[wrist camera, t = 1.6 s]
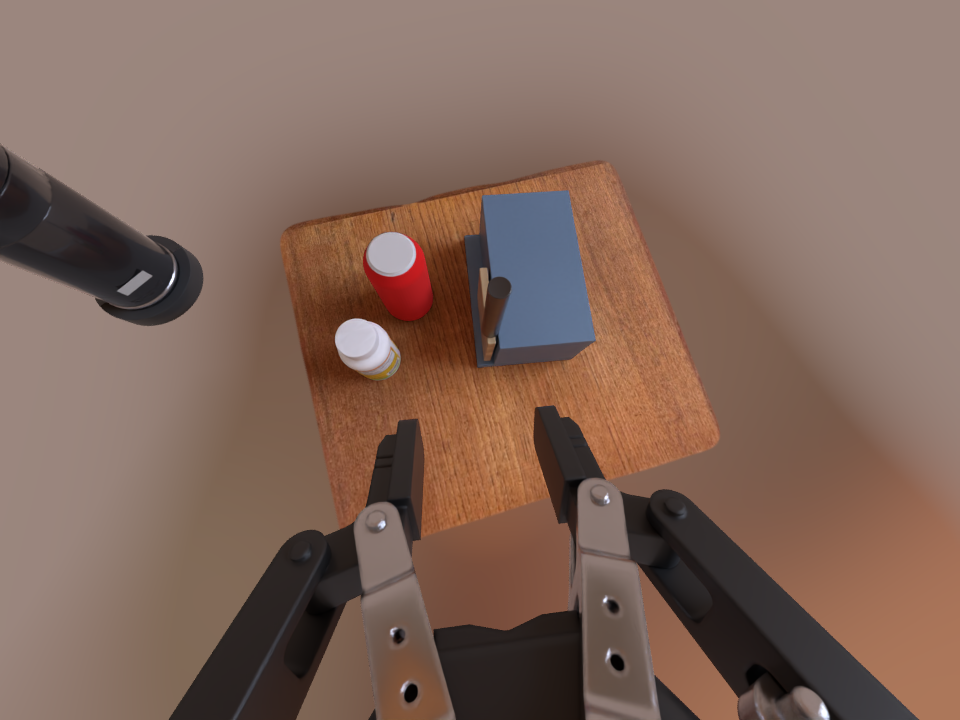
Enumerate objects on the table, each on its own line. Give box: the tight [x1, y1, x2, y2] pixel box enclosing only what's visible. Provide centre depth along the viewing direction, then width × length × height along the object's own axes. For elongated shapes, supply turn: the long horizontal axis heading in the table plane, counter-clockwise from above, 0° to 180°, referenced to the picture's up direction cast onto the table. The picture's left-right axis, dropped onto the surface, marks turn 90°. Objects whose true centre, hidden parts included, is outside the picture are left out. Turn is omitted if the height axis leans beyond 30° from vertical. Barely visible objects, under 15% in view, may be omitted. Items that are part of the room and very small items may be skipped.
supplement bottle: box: [335, 319, 401, 380], centre depth 38 cm, size 5×5×10 cm
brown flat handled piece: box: [477, 268, 512, 361], centre depth 34 cm, size 2×8×18 cm, turn 6°
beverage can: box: [363, 232, 433, 321], centre depth 39 cm, size 6×6×12 cm
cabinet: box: [464, 191, 596, 368], centre depth 41 cm, size 12×18×9 cm, turn 6°
